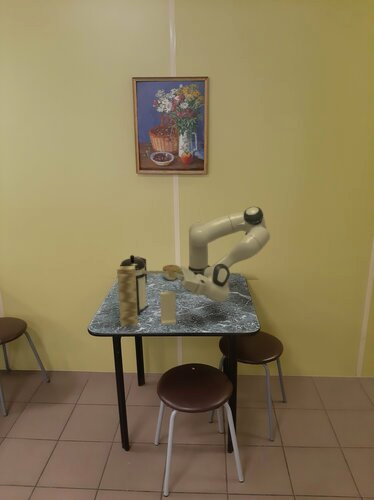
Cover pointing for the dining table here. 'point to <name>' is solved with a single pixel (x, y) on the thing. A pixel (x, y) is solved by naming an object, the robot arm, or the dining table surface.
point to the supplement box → (145, 266)
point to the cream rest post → (168, 308)
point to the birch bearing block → (127, 295)
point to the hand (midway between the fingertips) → (173, 271)
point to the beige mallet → (165, 272)
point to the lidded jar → (166, 268)
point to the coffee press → (138, 281)
